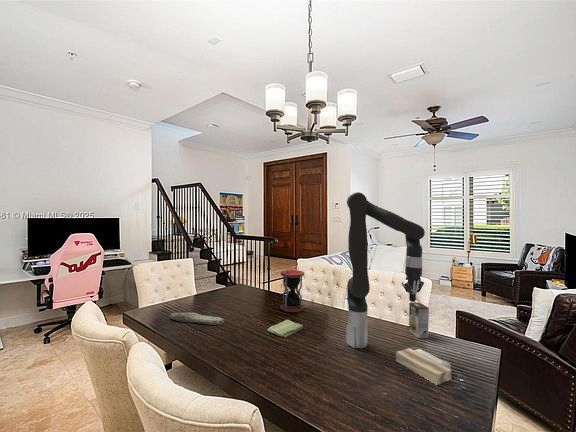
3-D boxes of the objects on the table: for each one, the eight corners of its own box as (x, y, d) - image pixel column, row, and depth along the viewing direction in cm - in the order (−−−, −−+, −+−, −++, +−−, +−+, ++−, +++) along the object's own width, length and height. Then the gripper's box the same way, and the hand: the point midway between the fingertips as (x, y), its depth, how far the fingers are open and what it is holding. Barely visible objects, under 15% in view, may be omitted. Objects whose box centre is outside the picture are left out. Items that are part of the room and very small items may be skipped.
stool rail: (436, 385, 108) (436, 374, 108) (395, 360, 126) (395, 351, 126) (451, 380, 111) (451, 369, 111) (409, 356, 129) (409, 348, 129)
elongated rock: (218, 330, 161) (226, 324, 171) (219, 320, 162) (227, 315, 171) (165, 320, 170) (175, 315, 180) (166, 311, 170) (176, 307, 180)
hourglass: (289, 303, 207) (289, 268, 206) (308, 307, 197) (308, 271, 197) (275, 309, 193) (275, 272, 193) (295, 314, 184) (295, 275, 184)
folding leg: (452, 373, 115) (452, 364, 115) (446, 375, 114) (446, 366, 114) (415, 353, 132) (415, 345, 132) (409, 355, 130) (409, 347, 130)
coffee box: (408, 331, 159) (408, 302, 158) (419, 330, 159) (419, 302, 159) (417, 338, 149) (417, 307, 149) (428, 337, 150) (429, 307, 150)
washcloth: (265, 332, 156) (265, 326, 156) (287, 323, 169) (287, 318, 169) (282, 339, 147) (282, 333, 147) (304, 329, 160) (304, 324, 160)
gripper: (409, 267, 132) (408, 304, 132) (429, 266, 138) (428, 302, 138) (397, 265, 139) (396, 300, 139) (417, 263, 145) (415, 298, 145)
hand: (412, 301), depth 139 cm, fingers closed
